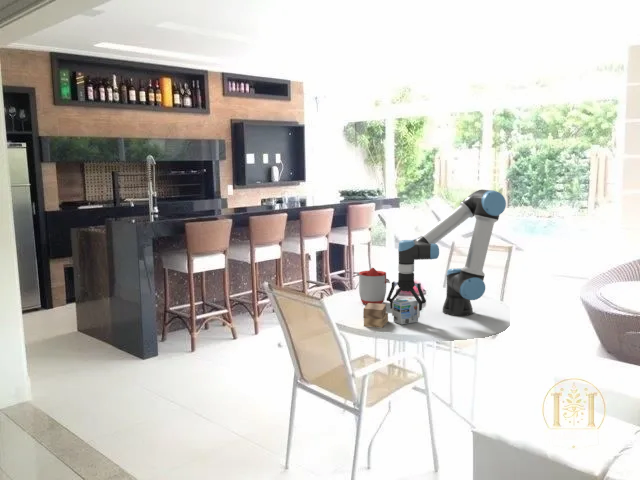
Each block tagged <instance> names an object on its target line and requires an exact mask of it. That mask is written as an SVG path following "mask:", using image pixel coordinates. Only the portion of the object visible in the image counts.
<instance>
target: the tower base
mask: <svg viewBox="0 0 640 480" xmlns="http://www.w3.org/2000/svg"><path fill="white" fill-rule="evenodd" d="M388 322H389V313H387V312H386V314H385V316H384V317H383V319H371V318H363V327H369V328H370V327H371V328H380V329H383V328H384V326H386V324H387V323H388Z"/></svg>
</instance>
